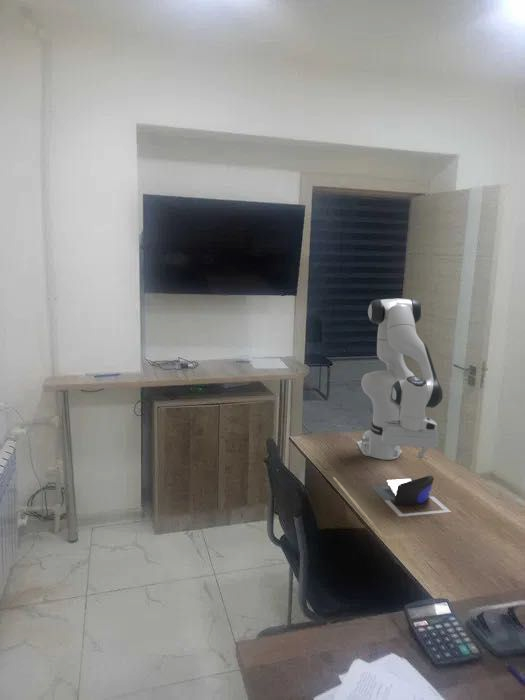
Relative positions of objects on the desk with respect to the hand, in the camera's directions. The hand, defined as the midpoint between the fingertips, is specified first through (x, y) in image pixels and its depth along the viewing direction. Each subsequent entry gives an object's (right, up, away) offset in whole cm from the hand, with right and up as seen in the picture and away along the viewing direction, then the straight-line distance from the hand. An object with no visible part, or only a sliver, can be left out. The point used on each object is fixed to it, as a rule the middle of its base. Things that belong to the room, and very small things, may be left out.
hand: (407, 456), depth 186 cm
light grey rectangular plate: (-1, -13, +4) cm, 14 cm away
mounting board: (0, -17, -1) cm, 17 cm away
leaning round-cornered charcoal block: (+1, -16, -1) cm, 16 cm away
